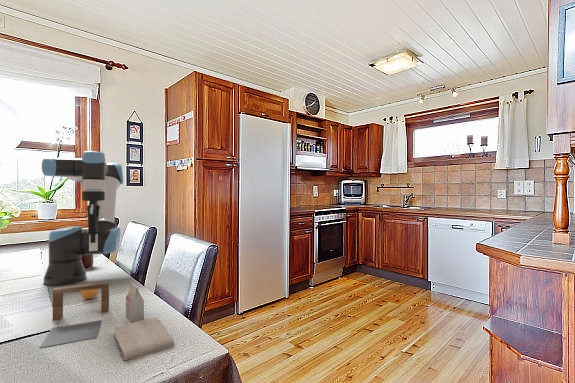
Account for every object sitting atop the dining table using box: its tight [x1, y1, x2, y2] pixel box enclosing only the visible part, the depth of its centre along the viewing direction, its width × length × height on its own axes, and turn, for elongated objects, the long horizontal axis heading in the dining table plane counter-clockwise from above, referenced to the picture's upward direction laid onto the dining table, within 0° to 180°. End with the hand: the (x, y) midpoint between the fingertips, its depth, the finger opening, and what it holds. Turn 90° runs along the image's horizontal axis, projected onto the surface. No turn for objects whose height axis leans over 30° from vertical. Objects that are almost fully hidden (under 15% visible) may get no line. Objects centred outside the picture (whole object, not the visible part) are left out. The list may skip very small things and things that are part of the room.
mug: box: [81, 254, 94, 269], centre depth 153 cm, size 12×9×10 cm
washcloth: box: [113, 317, 175, 361], centre depth 79 cm, size 12×18×3 cm, turn 39°
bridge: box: [52, 281, 110, 322], centre depth 95 cm, size 3×14×9 cm, turn 116°
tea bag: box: [125, 283, 145, 323], centre depth 93 cm, size 4×7×10 cm, turn 39°
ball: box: [80, 282, 100, 300], centre depth 109 cm, size 6×6×6 cm
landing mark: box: [39, 319, 102, 349], centre depth 82 cm, size 12×12×1 cm
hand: (93, 250), depth 118 cm, fingers closed
